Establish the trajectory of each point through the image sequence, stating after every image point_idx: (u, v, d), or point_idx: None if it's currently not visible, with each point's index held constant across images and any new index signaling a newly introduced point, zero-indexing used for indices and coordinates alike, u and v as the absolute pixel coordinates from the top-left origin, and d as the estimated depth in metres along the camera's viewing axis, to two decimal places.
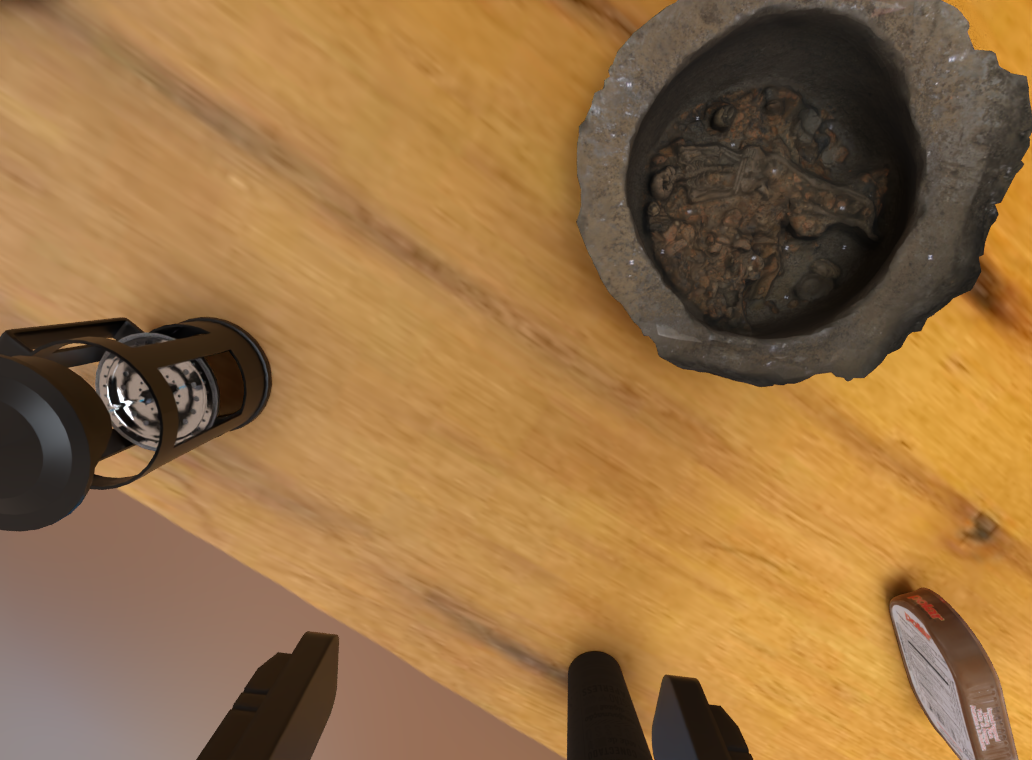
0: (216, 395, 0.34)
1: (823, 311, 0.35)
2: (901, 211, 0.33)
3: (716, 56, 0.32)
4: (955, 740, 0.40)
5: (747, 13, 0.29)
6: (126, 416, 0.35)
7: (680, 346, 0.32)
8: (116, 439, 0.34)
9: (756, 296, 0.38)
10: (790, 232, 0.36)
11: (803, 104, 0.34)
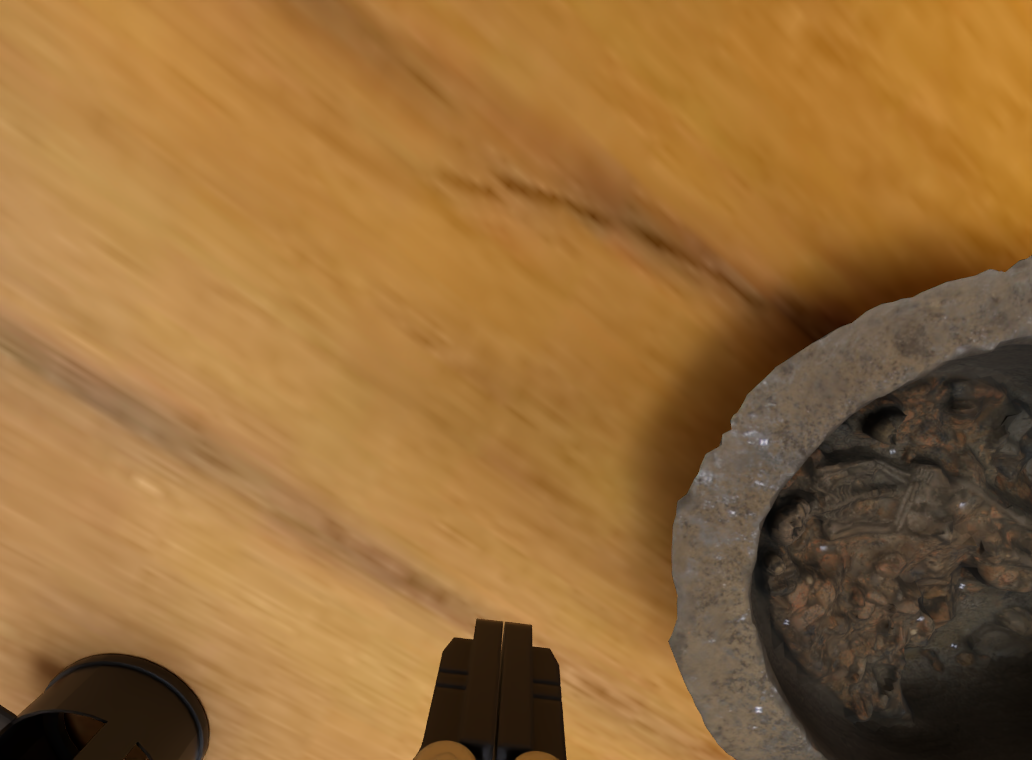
0: None
1: (1026, 702, 0.23)
2: None
3: None
4: None
5: (980, 346, 0.17)
6: None
7: None
8: None
9: (911, 645, 0.26)
10: (972, 573, 0.24)
11: (1010, 404, 0.22)
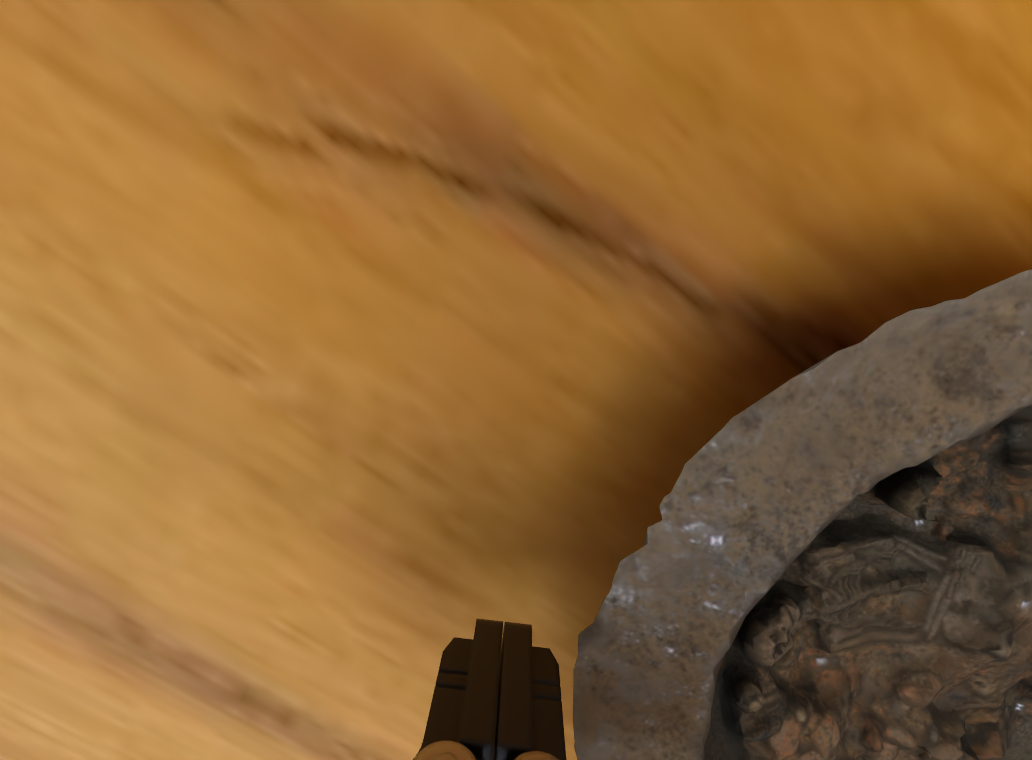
0: None
1: None
2: None
3: None
4: None
5: None
6: None
7: None
8: None
9: None
10: None
11: None
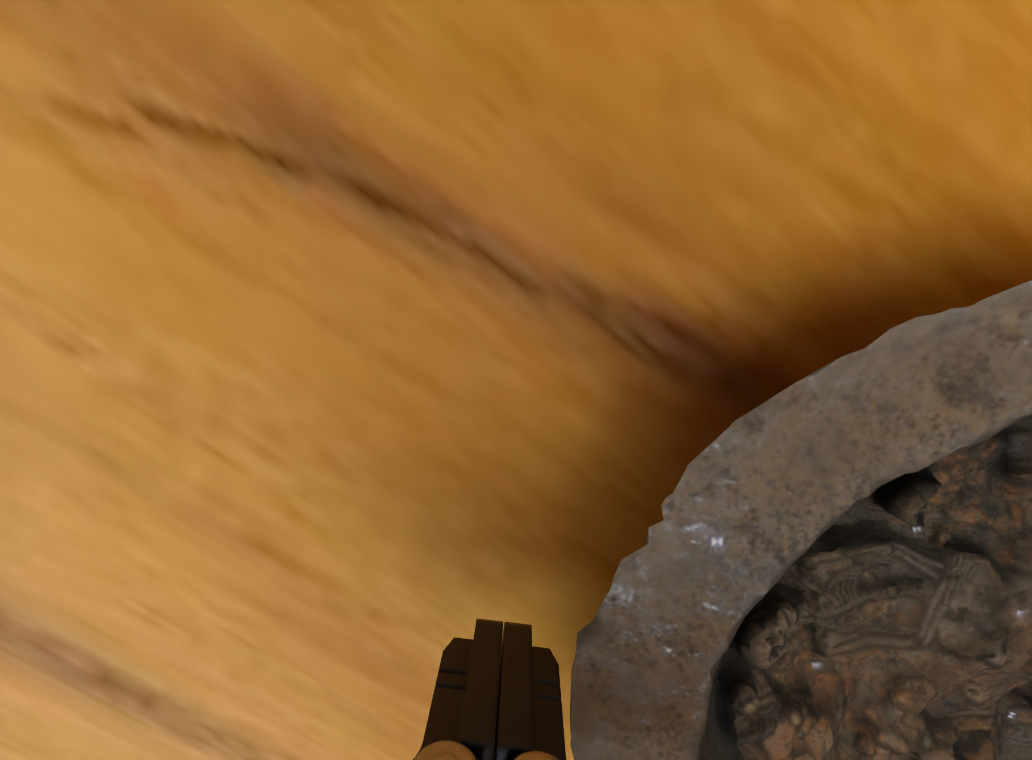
0: None
1: None
2: None
3: None
4: None
5: None
6: None
7: None
8: None
9: None
10: (1029, 702, 0.17)
11: None
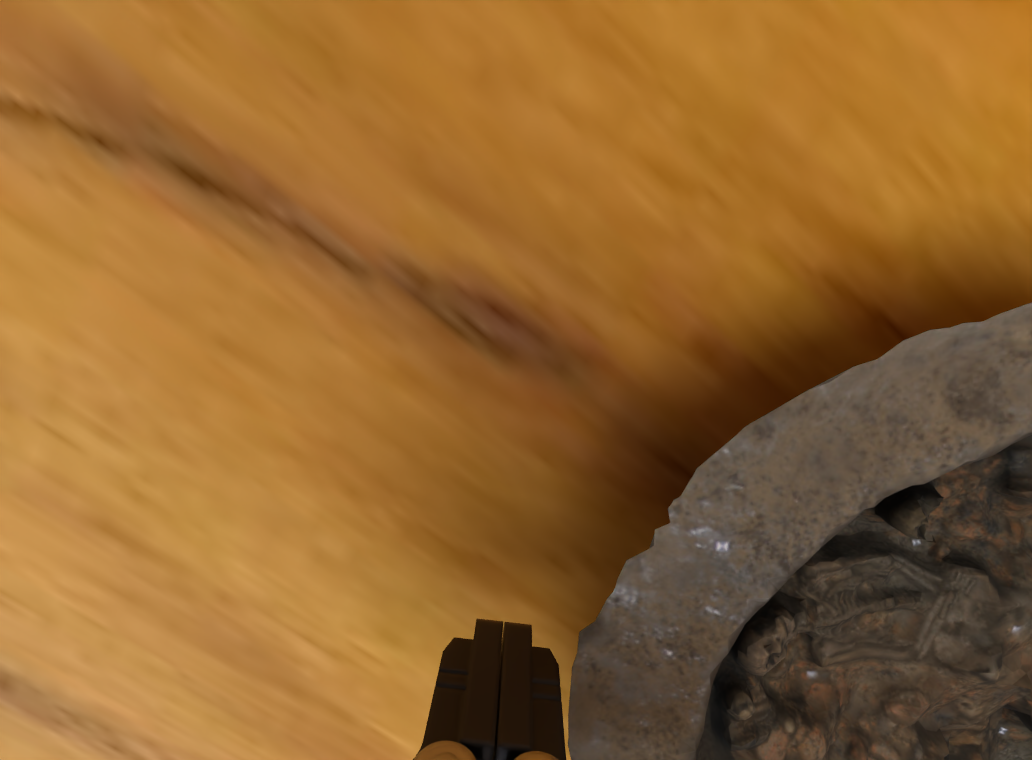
0: None
1: None
2: None
3: None
4: None
5: None
6: None
7: None
8: None
9: None
10: (1021, 719, 0.17)
11: None
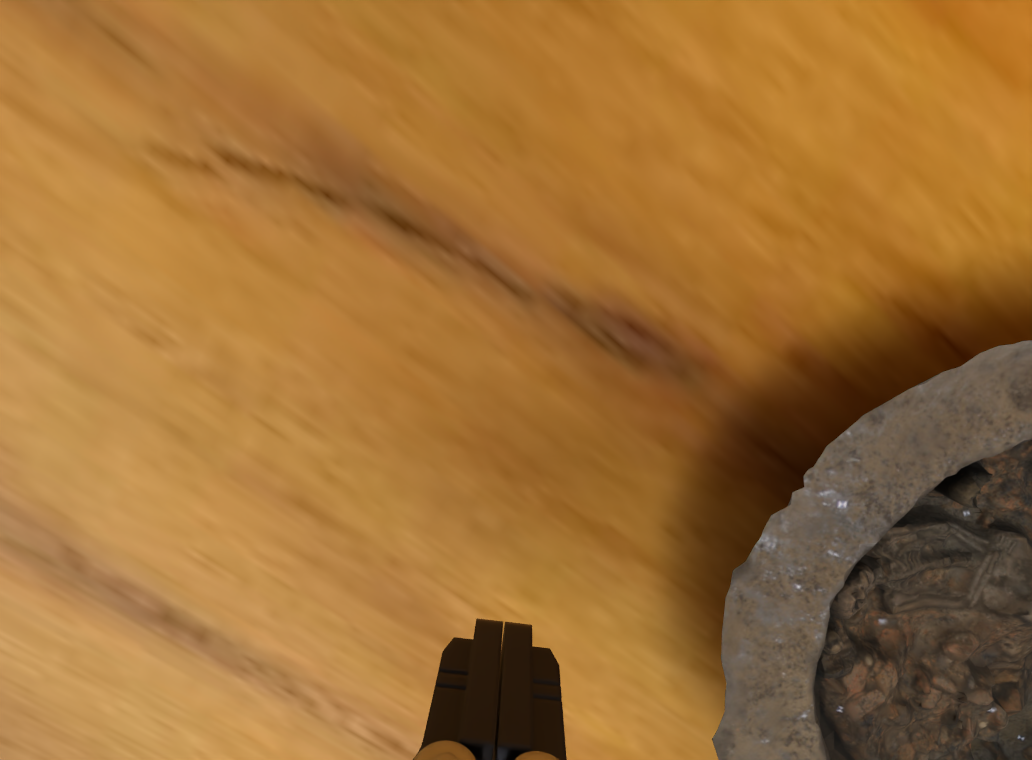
0: None
1: None
2: None
3: None
4: None
5: None
6: None
7: None
8: None
9: None
10: None
11: None
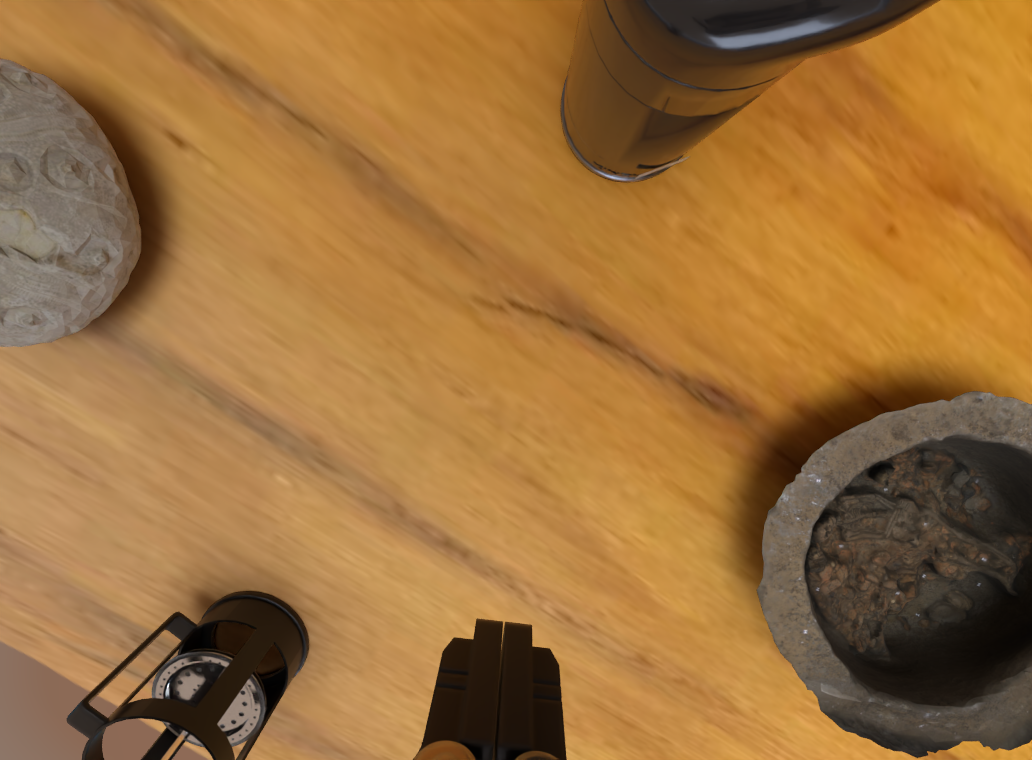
0: (263, 700, 0.37)
1: (958, 648, 0.38)
2: None
3: None
4: None
5: (935, 438, 0.32)
6: None
7: (840, 703, 0.35)
8: (170, 741, 0.37)
9: (890, 612, 0.41)
10: (930, 568, 0.39)
11: (955, 465, 0.37)
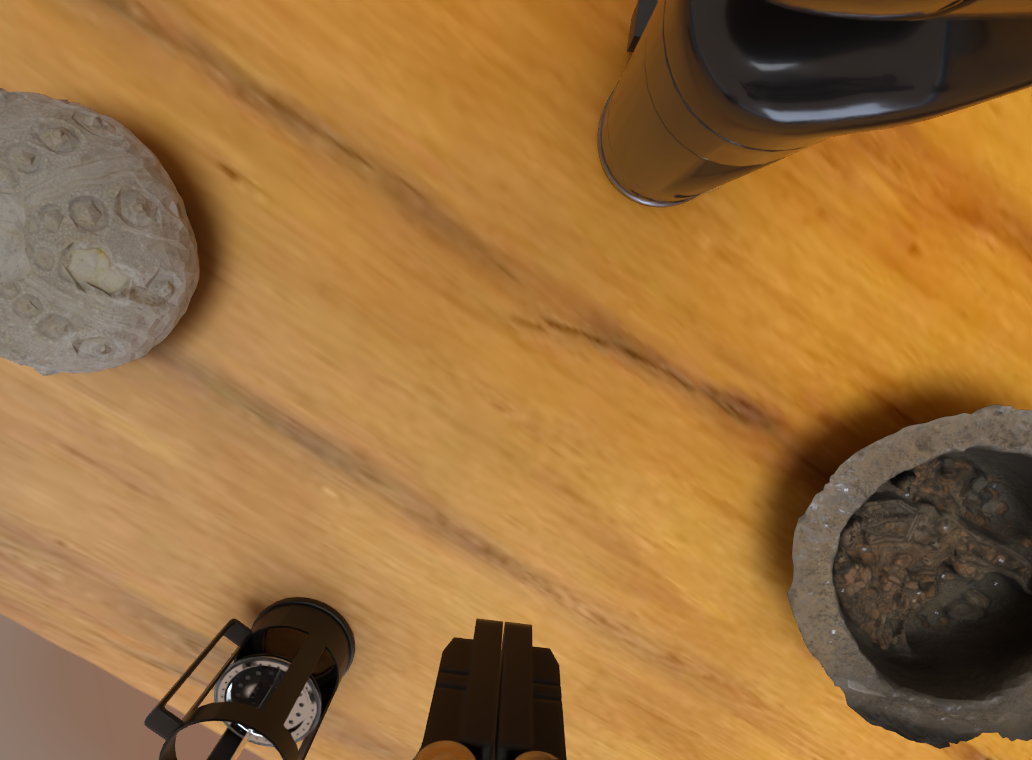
0: (319, 701, 0.39)
1: (977, 644, 0.40)
2: None
3: None
4: None
5: (957, 449, 0.34)
6: None
7: (866, 698, 0.37)
8: (231, 740, 0.39)
9: (911, 611, 0.43)
10: (949, 568, 0.41)
11: (974, 472, 0.39)
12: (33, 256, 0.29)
